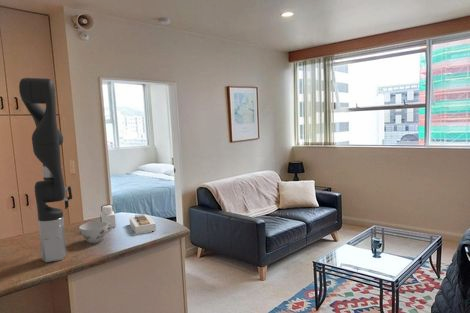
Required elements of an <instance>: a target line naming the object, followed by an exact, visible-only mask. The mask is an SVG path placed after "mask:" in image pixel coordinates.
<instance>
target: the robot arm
mask: <svg viewBox="0 0 470 313" xmlns="http://www.w3.org/2000/svg"><path fill="white" fill-rule="evenodd" d="M55 90H56V87H55V84H54V81H53V80H52V79H50V78H44V77H43V78H42V77H40V78H39V77H38V78H37V77H23V78H21V79H20V80H19V84H18V91H19V95H20V98H21V101H22V102H23V104H24V106H25V108H26V110H27V111H28V112H29V114H30V116H31V117H32V119H33V121H34V124H35V129H34V131H33V132H32V136H31V143H32V149H33V153H34V156H35V157H36V158H37V159H38V161H39V162H41V164H42V177H43V180H40V181H39V180H38V181H36V182H35V183H34V197H35V202H36V211H37V219H38V220H37V221H38V230H39V241H40V252H41V253H40V254H41V261H43V262H45V263H51V262H52V263H53V262H57V261H62V260H63V259H65V257H66V256H67V245H66V244H67V243H66V234H65V232H66V231H65V222H64V211H63V210H62V209H60V208H56V207H52V206H50V205H49V204H48V203H56V202H61V201H64V207H65V208H64V209H65V210H67V209H68V208H69V201H70V200H72V199H73V194H72V188H71V185H67V186H65V182H64V177H63V176H64V175H63V169H62V163H61V162H62V161H61V147H60V146H61V145H62V144H63V143H64V136H63V134H62V132H61V131H60V129H59V128H58V122H57V109H56V108H57V105H56V102H57V101H56V91H55ZM40 104H44V105H45V108H44V107H43V106H41V105H40ZM66 192H68V196H67V195H66Z"/></svg>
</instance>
